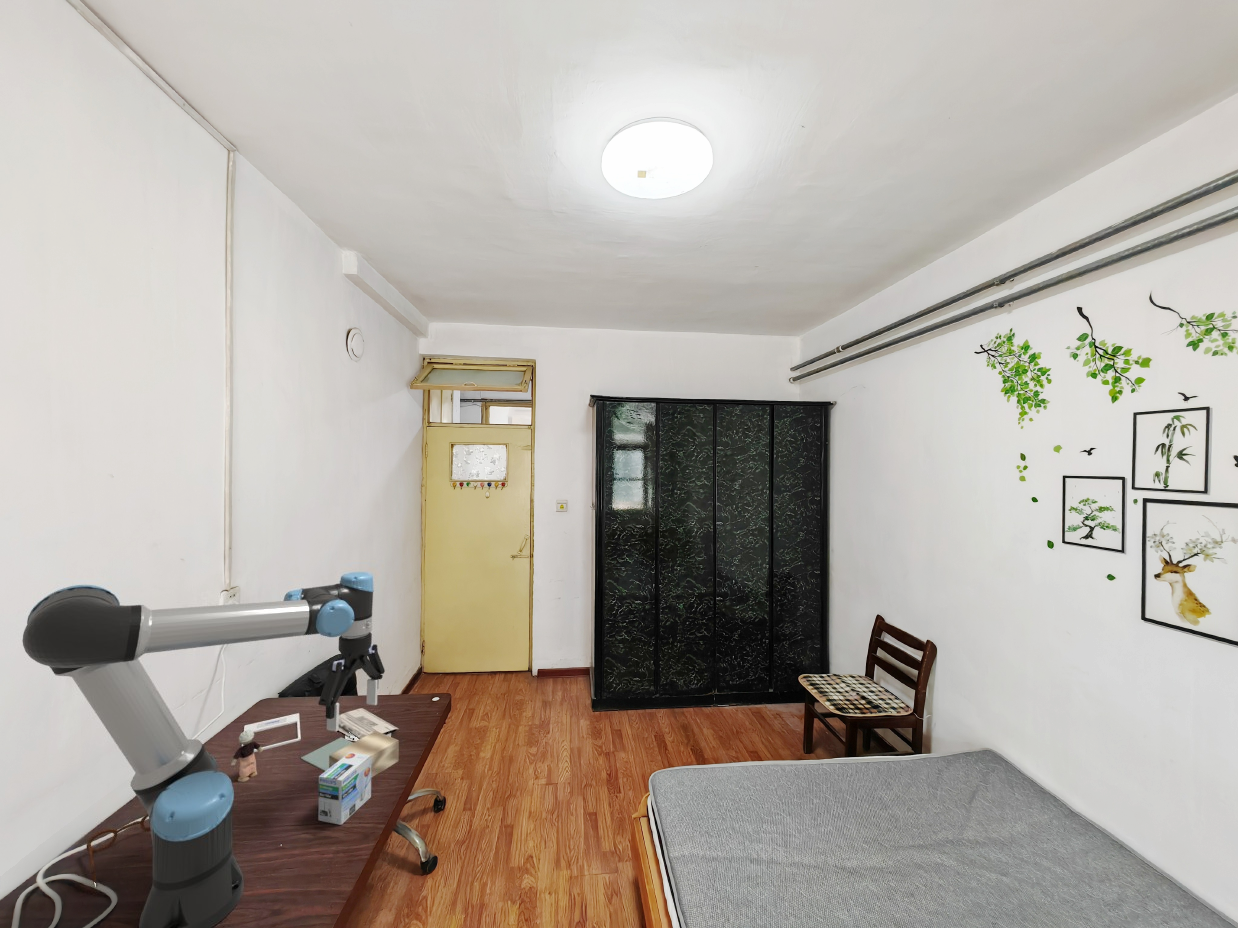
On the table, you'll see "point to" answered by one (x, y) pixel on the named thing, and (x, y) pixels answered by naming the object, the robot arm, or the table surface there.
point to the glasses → (111, 841)
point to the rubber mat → (325, 753)
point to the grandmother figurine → (246, 756)
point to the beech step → (372, 751)
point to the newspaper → (362, 723)
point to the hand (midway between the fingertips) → (353, 716)
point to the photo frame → (272, 724)
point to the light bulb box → (344, 788)
